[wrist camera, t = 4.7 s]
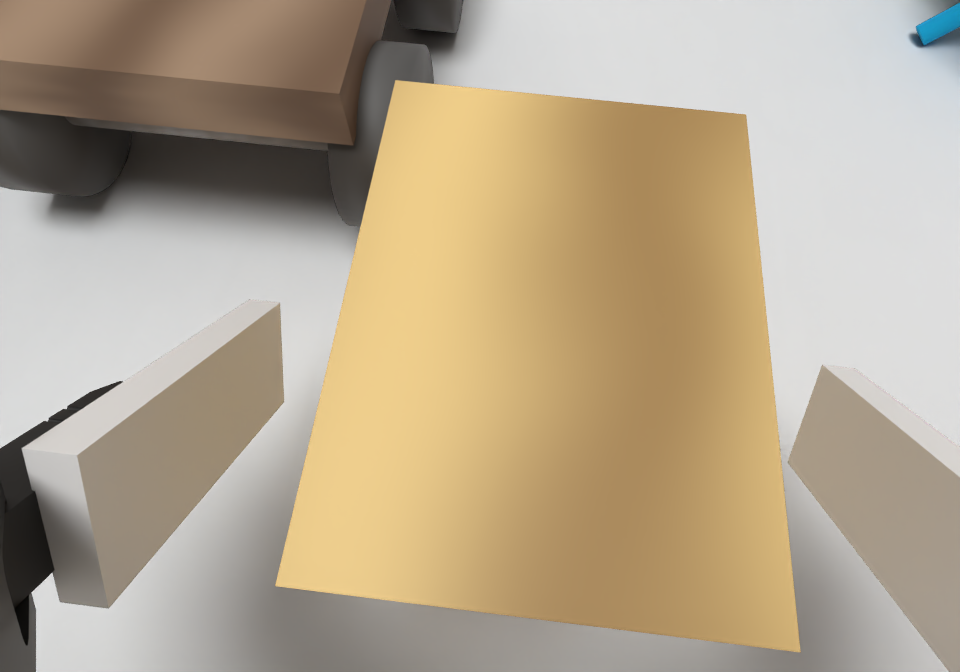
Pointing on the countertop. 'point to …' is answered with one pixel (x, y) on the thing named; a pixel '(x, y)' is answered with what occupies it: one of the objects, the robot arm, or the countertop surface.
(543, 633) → the countertop surface
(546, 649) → the countertop surface
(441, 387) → the block
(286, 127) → the trolley
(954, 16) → the gear
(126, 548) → the robot arm
